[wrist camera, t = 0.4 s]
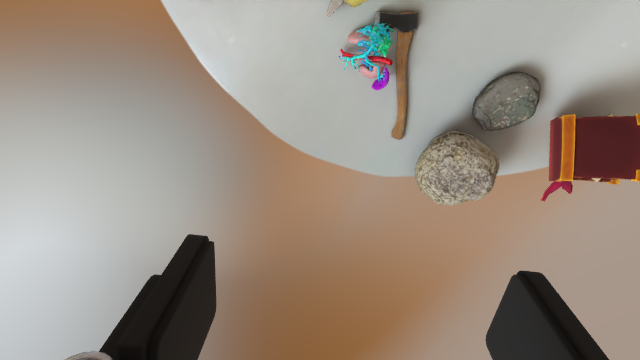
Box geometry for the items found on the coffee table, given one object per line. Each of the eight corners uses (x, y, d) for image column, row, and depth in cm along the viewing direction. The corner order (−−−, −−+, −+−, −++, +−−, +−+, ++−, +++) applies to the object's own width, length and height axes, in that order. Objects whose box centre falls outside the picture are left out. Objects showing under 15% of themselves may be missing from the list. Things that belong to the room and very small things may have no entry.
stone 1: (500, 151, 49) (446, 197, 54) (449, 113, 46) (397, 166, 51) (520, 177, 44) (458, 226, 49) (464, 137, 41) (404, 193, 46)
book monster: (659, 110, 39) (587, 129, 51) (572, 107, 40) (522, 127, 52) (657, 206, 39) (585, 203, 51) (570, 201, 40) (519, 200, 52)
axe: (375, 11, 41) (418, 8, 41) (374, 11, 42) (417, 8, 42) (373, 140, 48) (410, 139, 48) (372, 139, 49) (409, 138, 49)
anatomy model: (328, 88, 44) (372, 101, 41) (327, 19, 40) (376, 26, 36) (354, 78, 48) (397, 89, 44) (355, 12, 43) (404, 18, 39)
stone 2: (525, 57, 42) (517, 57, 44) (464, 105, 45) (460, 102, 47) (557, 101, 43) (548, 98, 45) (496, 145, 46) (491, 140, 48)
